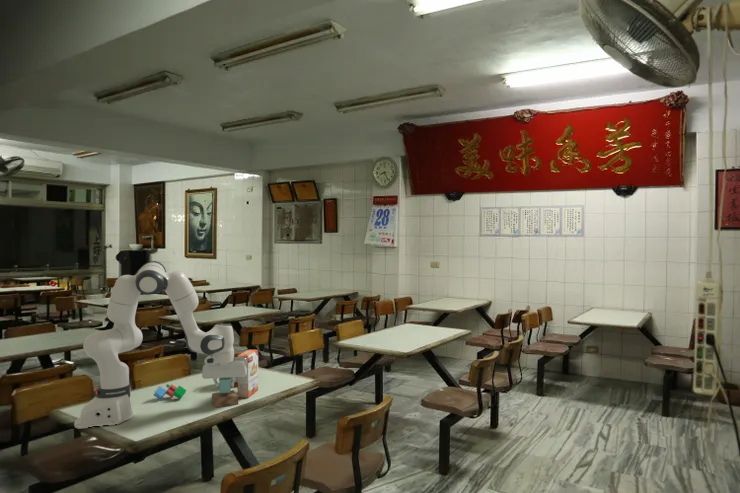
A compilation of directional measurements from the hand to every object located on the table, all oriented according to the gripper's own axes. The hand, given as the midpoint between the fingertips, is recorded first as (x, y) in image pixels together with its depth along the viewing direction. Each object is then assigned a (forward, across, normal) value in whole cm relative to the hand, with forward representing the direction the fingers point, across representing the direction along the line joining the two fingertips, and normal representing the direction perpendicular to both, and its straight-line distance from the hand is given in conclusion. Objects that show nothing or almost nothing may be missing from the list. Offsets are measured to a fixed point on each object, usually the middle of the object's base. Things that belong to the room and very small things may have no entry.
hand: (224, 386), depth 232 cm
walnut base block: (+8, 0, 0) cm, 8 cm away
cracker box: (+8, -9, -13) cm, 18 cm away
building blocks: (+8, +28, -10) cm, 31 cm away
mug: (+8, -3, -30) cm, 32 cm away
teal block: (+2, 0, 0) cm, 2 cm away
